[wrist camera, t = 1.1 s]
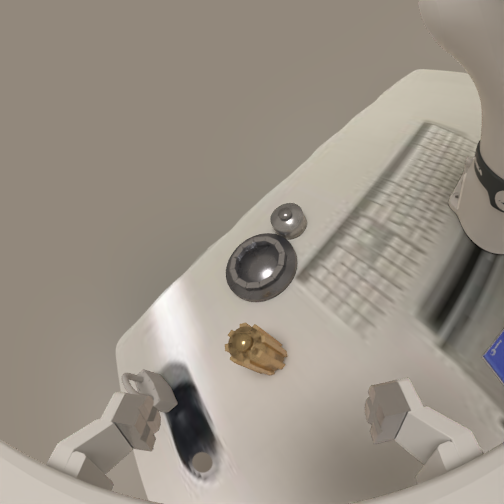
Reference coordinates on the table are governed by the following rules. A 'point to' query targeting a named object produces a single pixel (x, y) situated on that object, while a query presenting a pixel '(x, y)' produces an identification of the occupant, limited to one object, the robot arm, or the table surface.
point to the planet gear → (255, 349)
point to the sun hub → (288, 221)
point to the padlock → (151, 389)
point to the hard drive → (496, 357)
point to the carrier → (261, 267)
